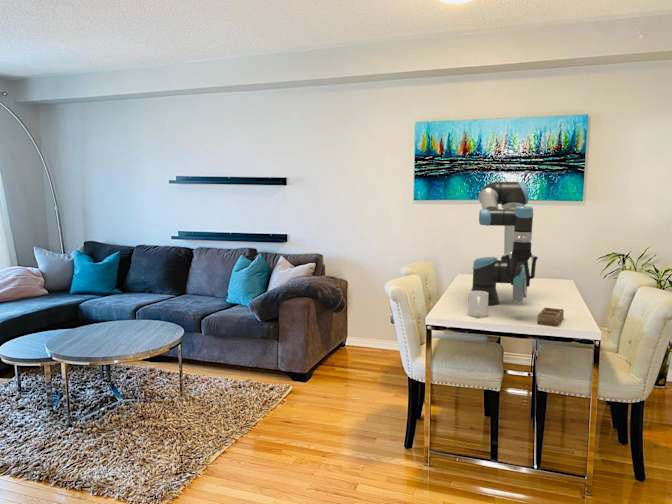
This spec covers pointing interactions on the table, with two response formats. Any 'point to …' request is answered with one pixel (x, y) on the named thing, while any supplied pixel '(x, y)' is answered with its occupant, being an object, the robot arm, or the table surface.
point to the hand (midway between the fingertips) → (519, 292)
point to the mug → (478, 303)
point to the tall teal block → (518, 288)
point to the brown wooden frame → (550, 316)
